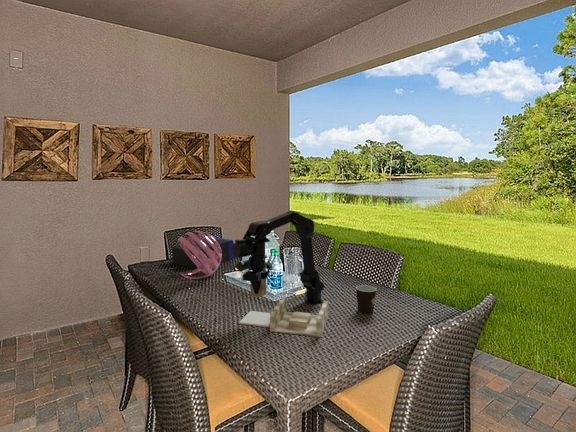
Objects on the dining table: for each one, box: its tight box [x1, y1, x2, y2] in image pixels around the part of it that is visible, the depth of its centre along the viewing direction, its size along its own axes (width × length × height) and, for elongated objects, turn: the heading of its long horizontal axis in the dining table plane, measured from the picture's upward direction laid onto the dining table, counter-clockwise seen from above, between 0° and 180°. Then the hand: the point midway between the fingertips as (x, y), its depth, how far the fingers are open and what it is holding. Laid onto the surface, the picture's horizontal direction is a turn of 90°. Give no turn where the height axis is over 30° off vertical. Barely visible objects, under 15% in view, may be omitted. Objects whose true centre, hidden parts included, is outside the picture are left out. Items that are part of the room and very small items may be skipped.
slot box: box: [269, 296, 329, 338], centre depth 136 cm, size 18×19×7 cm
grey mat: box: [238, 310, 271, 328], centre depth 140 cm, size 12×12×1 cm
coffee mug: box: [355, 284, 377, 315], centre depth 149 cm, size 12×9×10 cm
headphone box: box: [172, 236, 235, 270], centre depth 236 cm, size 25×35×14 cm
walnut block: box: [249, 278, 267, 298], centre depth 139 cm, size 5×5×6 cm
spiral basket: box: [177, 230, 222, 280], centre depth 199 cm, size 28×28×27 cm
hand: (258, 291), depth 139 cm, fingers closed on walnut block, 5 cm apart
